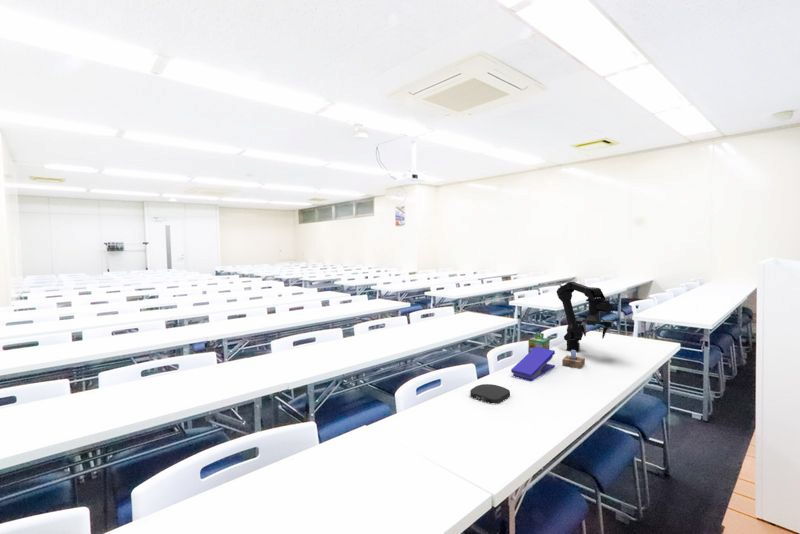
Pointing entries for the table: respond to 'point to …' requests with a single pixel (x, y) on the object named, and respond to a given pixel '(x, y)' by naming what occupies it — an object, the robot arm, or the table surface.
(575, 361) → the socket
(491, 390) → the media streaming box
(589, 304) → the robot arm
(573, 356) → the peg
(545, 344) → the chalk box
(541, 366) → the purple foot pedal
